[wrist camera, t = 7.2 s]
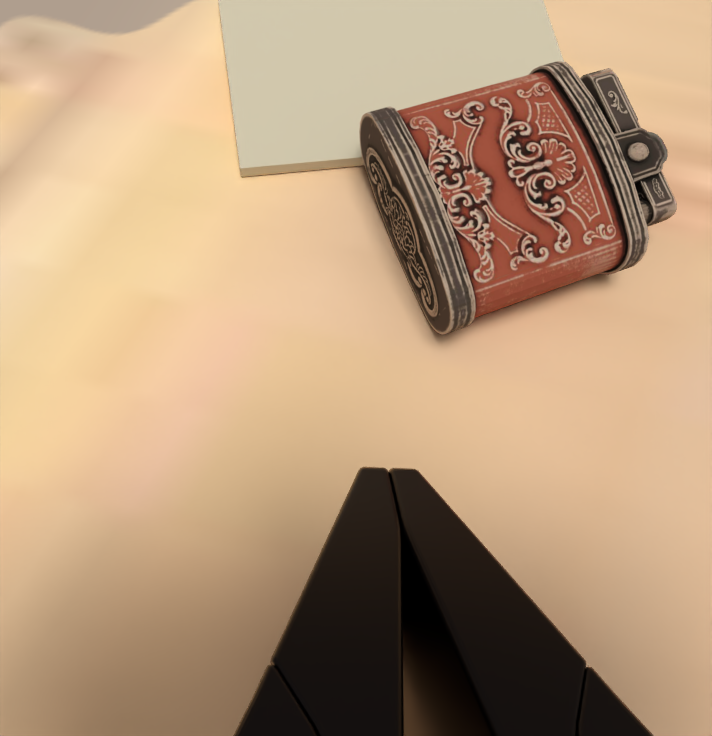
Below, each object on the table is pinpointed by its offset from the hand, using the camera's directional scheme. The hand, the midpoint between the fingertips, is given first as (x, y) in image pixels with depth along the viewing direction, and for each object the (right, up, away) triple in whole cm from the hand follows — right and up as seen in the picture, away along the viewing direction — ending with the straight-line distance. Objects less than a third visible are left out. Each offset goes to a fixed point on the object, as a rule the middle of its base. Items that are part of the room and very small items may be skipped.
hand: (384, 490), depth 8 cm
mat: (+1, +14, +14) cm, 20 cm away
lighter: (+1, +7, +10) cm, 12 cm away
